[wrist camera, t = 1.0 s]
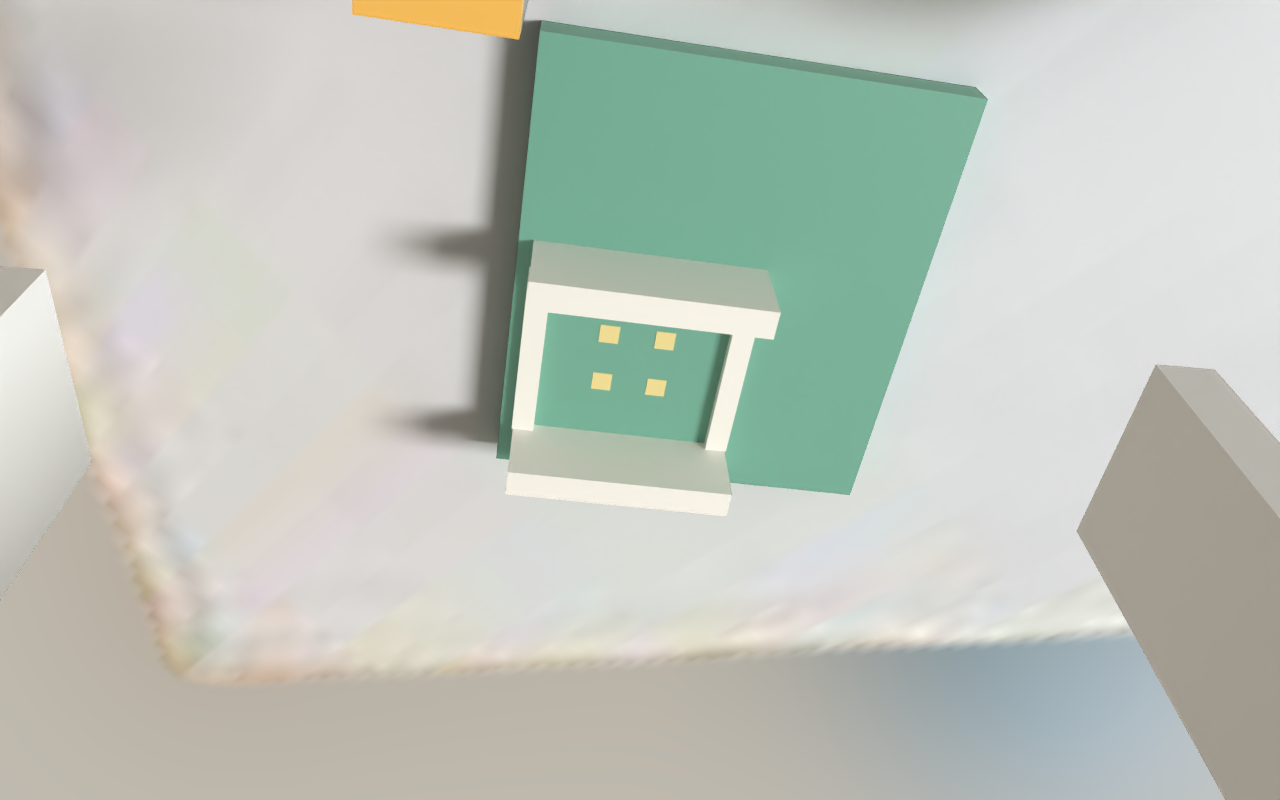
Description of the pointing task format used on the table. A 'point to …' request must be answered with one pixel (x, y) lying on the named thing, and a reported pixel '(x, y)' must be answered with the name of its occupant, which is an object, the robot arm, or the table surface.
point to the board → (715, 266)
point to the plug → (451, 14)
